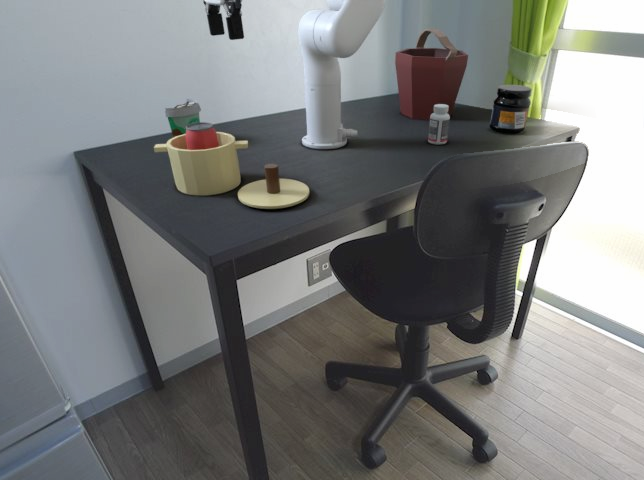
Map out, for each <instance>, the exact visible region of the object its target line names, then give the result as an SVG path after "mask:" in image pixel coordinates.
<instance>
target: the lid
mask: <svg viewBox="0 0 644 480" xmlns="http://www.w3.org/2000/svg"><path fill="white" fill-rule="evenodd" d="M263 167H264V173H265V174H264V175H265V179H259V180H256V181H252V182H250V183H247V184H245V185H243V186H241V188H239V190H238V191H237V198H238V201H240V203H241V204H243V205H245V206H247V207H251V208H256V209H261V210H262V209H265V210H277V209H285V208H289V207H290V208H291V207H293V206H296V205H299V204H301V203H303V202H304V201H306V200H307V199H308V198H309V196H310V187H309V186H308V185H307V184H306V183H304V182H302V181H299V180H295V179H291V178H280V171H279V165H278V164H276V163H267V164H265V165H264V166H263Z"/></svg>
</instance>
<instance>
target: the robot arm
mask: <svg viewBox="0 0 644 480" xmlns="http://www.w3.org/2000/svg"><path fill="white" fill-rule="evenodd" d="M386 1H387V0H325V2H326V5H327V8H328V9H326V8H325V9H323V8H315V9H311V10H308V11H306V13H304V14H303V16H302V17H301V18H300V20H299V23H298V28H297V36H298V37H297V38H298V43H299V48H300V53H301V58H302V65H303V80H304V97H305V99H304V100H305V116H306V117H305V118H306V135H304V136H303V137H302V138H301V144H302V145H303V146H304V147H306V148H310V149H315V150H333V149H338V148H342V147H344V146H345V145H347V143H348V138H351V139H357V138H358V130H355V129H354V128H345V127H344V126H343V125H344V123H342V73H341V66H340V61H339V59H347V58H350V57H352V56H353V55H355V54H356V53H357V52H358V50H359V49H360V48H361V46H362V45H363V44H364V42H365V41H366V39H367V37H368V36H369V34H370V33H371V31H372V29H373V28H374V27H375V25H376V24H377V22H378V21H379V19H380V18H381V16H382V14H383V11H384V9H385V6H386V3H387V2H386ZM202 2H203V4H204V7H205V9H204V10H205V13H206V19H207V24H208V29H209V34H210V36H212V37H214V36H223V35H225V32H226V31H225V26H224V21H223V14H222V12H221V13H220V11H221V6H222V7H223V9H224V11H225V13H226V16H225V21H226V27H227V34H228V39H229V40H231V41H234V40H235V41H236V40H243V39H245V33H244V26H243V19H242V16H243V13H242V12H243V11H242V7H243V5H242V3H243V0H203V1H202Z"/></svg>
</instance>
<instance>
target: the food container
mask: <svg viewBox="0 0 644 480" xmlns="http://www.w3.org/2000/svg"><path fill="white" fill-rule="evenodd" d="M164 109H165V111H164V112H165V118H167V120H168V123H169V128H170V131H171V134H172V138H174V137H176V136H179V135H183V134H186V126H187V125H189V124H192V123H199V122H201V118H200V112H202V108H201V106H200V104H199V102H198V101H197V100H196V99H191V98H186V102H184V103H183V104H176V105H175V106H174V107H167V108H166V107H165V108H164Z"/></svg>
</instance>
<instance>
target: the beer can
mask: <svg viewBox="0 0 644 480" xmlns="http://www.w3.org/2000/svg"><path fill="white" fill-rule="evenodd" d="M216 132H217V131H216V130H215V128H214V124H213V123H212V122H211V123H210V122H204V121H203V122H202V121H200V122H199V123H192V124H189V125H187V126H186V143H187V148H188V150H204V149H210V148H216V147H219V143H218V137H217V133H216Z"/></svg>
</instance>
